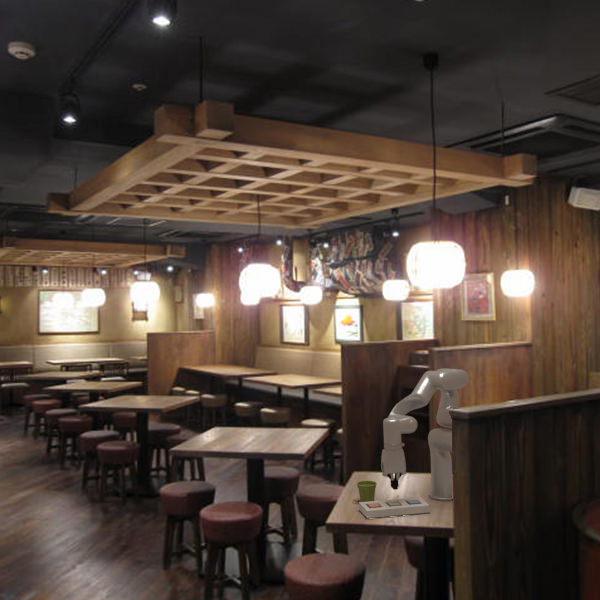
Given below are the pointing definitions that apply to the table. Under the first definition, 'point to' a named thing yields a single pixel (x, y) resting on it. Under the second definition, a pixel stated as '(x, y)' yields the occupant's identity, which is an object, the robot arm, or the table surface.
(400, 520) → the table surface
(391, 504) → the sage button
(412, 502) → the slate button
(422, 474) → the table surface
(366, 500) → the plant pot
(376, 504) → the terracotta button
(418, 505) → the button panel
